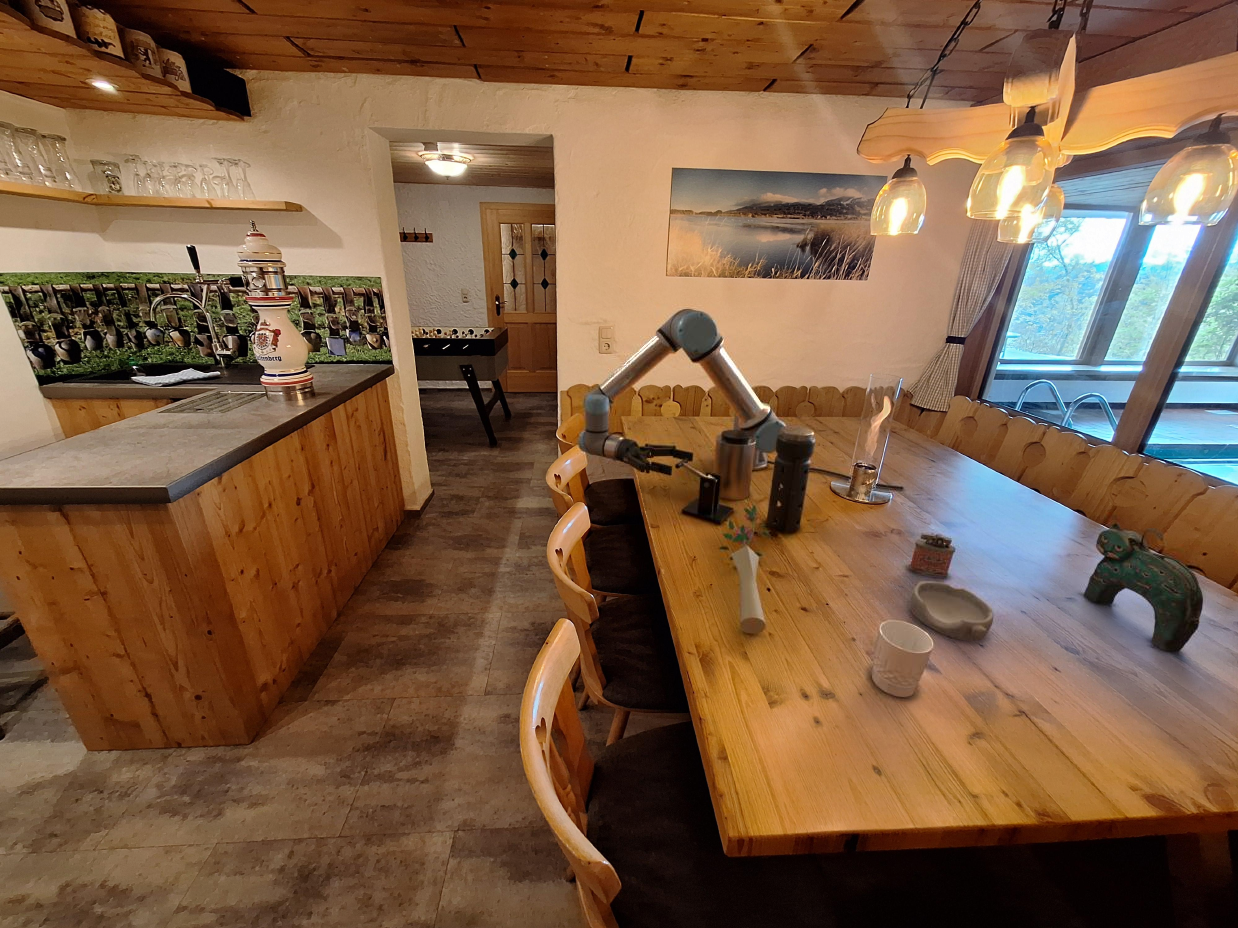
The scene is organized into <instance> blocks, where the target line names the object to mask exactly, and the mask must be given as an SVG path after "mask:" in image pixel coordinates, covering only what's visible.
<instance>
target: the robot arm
mask: <svg viewBox="0 0 1238 928" xmlns="http://www.w3.org/2000/svg"><path fill="white" fill-rule="evenodd" d="M724 342H725V340H724V337H723V336H722V335H721V333H720V332H719V329H718V325H717V323H716V321H715V320H714V318H713V317H712V316H711V315H709V314H708V313H706V312H704V311H701V310H696V309H692V308H683V309H681V310H678V311H676V312H675V313H674V314H673V315H672V316H671V317H670V318H668V319H667V320H666V321H665V323H663V324H662V325H661V326H660V327H659V328H658V329H657V330H656V331H655V335H654V337H652V338H651V339H650V340H649V341H648V342H647V343H645V344H644V345H643V346H642V347H641V348H640V349H639V350H638V351H637V352H636V353H634V354H633V355H632V356H631V357H630V358H629V359H628V360H626V361H625V362H624V363H623V364H622V365H621V366H620V367H618V368H617V369H616V370H615V371H614V372H613V373H612V374H611V375H609V376H608V377H607V378H606V379H605V380H604V381H603V382H602V383H601V384H599V385H598V386H597V387H596V388H595V389H594V390H590V391H588V392H587V393H586V394H585V396H584V399H583V408H584V415H585V429H583V430H582V431H581V432H580V434H579V435H578V439H577V446H578V448H579V450H580V451H581V452H582V453H583V452H584V453H586V454H589V455H592V456H597V457H602V458H606V459H610V460H612V461H613V462H615V461H618V462H621V463H623V464H626V465H629V466H631V467H632V468H634V469H635V470H637V471H638V472H639V473H645V474H647V475H648V474H650V473H651V472H654V473H658V474H662V475H666V476H670V477H671V476H672V475H673V465H669V464H665V463H662V462H657V461H651V462H650V461H649V460H648V459H654V458H655V457H658V458H659V457H672V459H673V458H674V459H677V460H681V461H682V460H684V459H685V458H687V459H688V462H691V463H692V462H694V452H690V451H688V450H687V451H686V450H683V449H677V446H676V445H668V444H667V445H666V444H651V443H645V444H644V445H639V444H638V442H637V441H636V440H634V439H632V438H631V439H630V438H626V437H623V436H617V435H612V434H609V431H610V428H609V427H610V419H609V418H610V406H612V405H613V404H614V403H615V402H616V401H617V400H618V399H619V398H621V397H622V396H623V395H624V394H625V393H626V392H628V391H629V390H630V389H631V388H632V387H634V386H635V385H636V384H637V383H638V382H639V381H641V379H643V378H644V377H645V376H646V375H647V374H648V373H650V372H651V371H652V370H653V369H654V368H655V367H656V366H658V365H659V364H660V363H661V362H662V361H663V360H664V359H666V358H667V357H668V356H669V355H670V354H673V355H674V354H676V353H678V352H679V351H680V350H681V349H682V350H683V351H684V353H685V354H686V356H687V357H688V359H689V360H690V361H691V362H692V364H699V365H700V367H701V368H702V370H703V371H704V372H705V373H706V375H707V376H708V378H709V379H710V381H711V382H712V384H713V385H714V386H715V387H716V389H717V390H718V392H719V393H720V394H721V396H722V397H723V399H724V400H725V401H726V403H727V404H728V405H729V407H730V408H731V409H732V411H733V412H734V419H733V428H732V430H741V431H745V432H748V433H750V434H751V437H753V438H754V439H755V440H756V443H755V452H754V460H753V468H752V471H761V470H763V469H766V468H767V467H768V464H770V465H773V466H774V463H775V461H772V460H768V455H767V454H771V453H775V452H776V449H775V448H776V441H777V436H778V434H779V433H781V428H782V427H785V426H787V425H786V423H785V422H783V420H780V418H778V416H777V415H776V414H775V412H774V411H773V409H772V408H771V407H770V404H768V403H766V402H761V401H760V399H759V398H758V396H757V394H756V393H755V392H754V389H752V387H751V386H750V384H749V382H747V379H746V378H745V377H744V376H743V374H742V372H741V371H740V370H739V369H738V367H737V366H736V364H735V362H734V361H733V360H732V358H731V356H729V354H728V352H727V351H726V350H725V348H724V347H723V345H724ZM809 471H815V472H819V473H820V472H821V473H825V474H829V475H833V476H836V477H840V478H844V479H847V480H851V477H852V476H849V475H845V474H843V473H840V472H835V471H831V470H826V469H822V468H817V467H810V469H809ZM876 483H877V484H876V485H875V487H881V488H887V489H895V490H896V489H897V490H904V486H903V485H892V484H891V485H890V484H884V483H878V482H876Z"/></svg>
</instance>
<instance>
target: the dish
mask: <svg viewBox="0 0 1238 928" xmlns="http://www.w3.org/2000/svg"><path fill="white" fill-rule="evenodd" d="M909 602H910V603H909V606H910V610H911V612H912V614H913V615H914V616H915V617H916V618H917V620H919V621H920V622H921V623H922V624H924V625H925V626H927V627H929V628H931V629H933V630H934V631H937V632H938V633H940V634H942V635H945V636H948V637H951V638H953V639H957V640H962V641H978V640H981V639H982V638H985V636H986V635H987V634H988V633H989V631H990V630H991V628H992V626H993V623H994V618H995V617H994V616H995V615H994V611H993V608H992V607H991V606H990V605H989V604H988V603H987V602H986V601H984V600H983V599H982V598H980V597H979V596H977V595H976V594H975V593H973V592H971V591H970V590H968V589H966V588H962V587H961V588H960V587H955V586H952V585H950V584H949V583H946V582H940V581H925V580H920V581H918V582H917V583H916V584H915V586H914V588H913V589H912V592H911V595H910V601H909Z"/></svg>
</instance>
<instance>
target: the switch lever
mask: <svg viewBox="0 0 1238 928" xmlns="http://www.w3.org/2000/svg"><path fill="white" fill-rule="evenodd" d="M674 467H675V469H676V470H679V469H680V468H683V469H686V471H689V472H690V473H692V474H694V475H695V476H697V477H698V478H700V477H701V476H705V477H709V478H713V479H716V478H714V477H713V476H711V475H709V476H706V474H704V473H703V472H701V471H699V470H697V469H695V468H694V467H692V466H691V465H689V461H688V459H687V458H685V459H684V460H681V461H679V462H677V463H676V464H675V465H674ZM717 480H718V479H716V482H717Z"/></svg>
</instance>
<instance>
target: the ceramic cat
mask: <svg viewBox="0 0 1238 928" xmlns="http://www.w3.org/2000/svg"><path fill="white" fill-rule="evenodd" d="M1150 531H1152V532H1154V533H1155V534H1156V535H1157V537H1158V538H1159V539H1160V541H1161V542H1162V541H1163V540H1164V537H1163V535H1162V533H1160V531H1158V530H1157V529H1155V528H1147V529H1146V530H1145V531H1144V532H1143V534H1142V535H1141V534H1140V533H1138V532H1136V531H1132V530H1124V529H1123V528H1121V526H1120V525H1119V524H1118V523H1116V522H1115V523H1113V524H1112V525H1111V526H1110V527H1109V528H1108V529H1105V530H1102V531H1101V532H1100V533H1099V535H1098V537H1097V539H1096V542H1095V548H1096V550H1097V552H1099V553H1100V555H1102V556H1104V557H1103V558H1102V559H1101V560H1099V562H1098V563H1097V565H1096V567H1095V568H1094V571H1093V573H1092V574H1091V575H1090V576H1089V580H1088V583H1087V586H1086V588H1085V590H1084V593H1083V596H1084V597H1086V598H1087V599H1089V600H1090V601H1091V602H1093V603H1095V604H1100V605H1113V604H1114V601H1115V599H1116V597H1117V595H1118V594H1119V593H1120V592H1123V590H1125V589H1126V590H1129V591H1132V592H1134V593H1135V594H1137V595H1139V596H1141V597H1142V598H1143V599H1145V601H1147V602H1148V603H1149V605H1150V606H1151V607H1152V609H1153V612H1154V614H1153V615H1154V625H1153V633H1152V638H1151V643H1152V644H1153V645H1154V646H1156V647H1157V648H1159V649H1161V650H1162V651H1164V652H1180V651H1181V650H1182V649H1183V648H1184V647H1185V645H1186V644H1187V643H1188V642H1189V641H1190V639H1191V638H1192V636H1193V635H1194V634H1195V633H1196V631H1197V630H1198V628H1199V626H1200V619H1201V614H1202V611H1203V606H1204V595H1203V592H1202V589H1201V587H1200V584H1199V581H1198V577H1197V576H1196V574H1195V573H1194V572H1193V571H1192V570H1191V569H1190V568H1189V567H1188V566H1187V565H1186V564H1184V563H1183V562H1181V561H1180V560H1178V559H1176V558H1174V557H1171V556H1168V555H1163V554H1160V553H1157V552H1153V551H1151V549H1150V547H1149V544H1148V543H1147V541H1146V539H1145V536H1146V534H1147V532H1150Z"/></svg>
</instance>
